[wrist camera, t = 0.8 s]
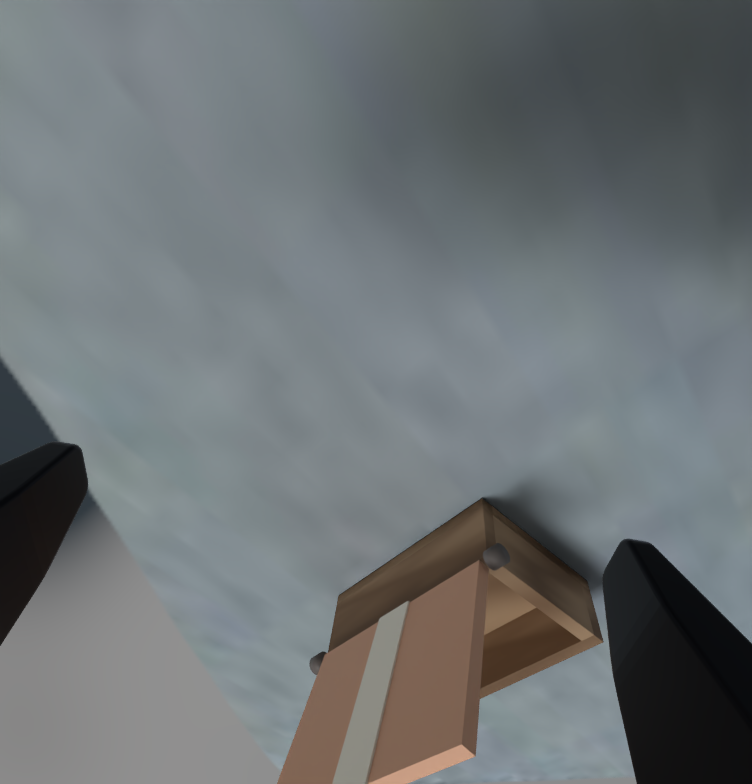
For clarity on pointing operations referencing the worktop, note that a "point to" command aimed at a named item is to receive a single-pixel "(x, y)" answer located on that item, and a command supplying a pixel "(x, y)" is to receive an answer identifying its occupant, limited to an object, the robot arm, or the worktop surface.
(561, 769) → the worktop surface
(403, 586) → the walnut box
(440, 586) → the lid
